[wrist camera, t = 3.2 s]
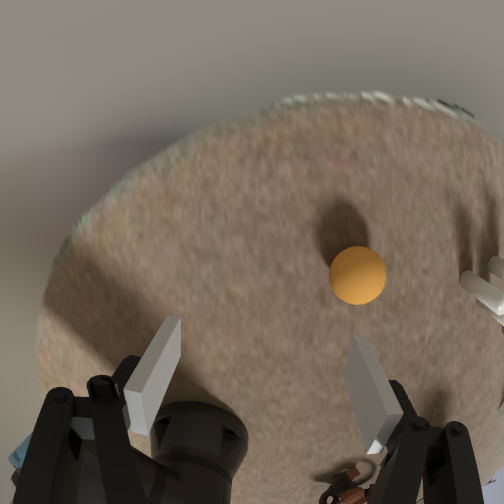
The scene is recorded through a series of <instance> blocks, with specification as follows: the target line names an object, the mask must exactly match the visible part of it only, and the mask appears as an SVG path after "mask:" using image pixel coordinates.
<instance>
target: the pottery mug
mask: <svg viewBox="0 0 504 504" xmlns="http://www.w3.org/2000/svg"><path fill="white" fill-rule="evenodd" d="M359 475H360V473H359V471H358V470H357V469H356V467H352V468H350V469H348V470H346V471H344V472H342V473H340V474H338V475H336V476H334V477H333V478H331V485H332V486H329V488H328V490H327V491H325V492H324V493H323V494H322V495H321V497H320V499H319V504H327V498H328V497H329V496H332V497H333V501H332V503H331V504H365V503H366V502H368V500H369V498H370V495H371V493H372V490H373V488H374V485H375V484H370V486H369V487H370V488H368V489H363V488H361V487H356V486H355V485H354V484H353V483H352V480H353V479H354V478H356V477H357V476H359ZM339 498H340V499H342V500H340V501H339Z"/></svg>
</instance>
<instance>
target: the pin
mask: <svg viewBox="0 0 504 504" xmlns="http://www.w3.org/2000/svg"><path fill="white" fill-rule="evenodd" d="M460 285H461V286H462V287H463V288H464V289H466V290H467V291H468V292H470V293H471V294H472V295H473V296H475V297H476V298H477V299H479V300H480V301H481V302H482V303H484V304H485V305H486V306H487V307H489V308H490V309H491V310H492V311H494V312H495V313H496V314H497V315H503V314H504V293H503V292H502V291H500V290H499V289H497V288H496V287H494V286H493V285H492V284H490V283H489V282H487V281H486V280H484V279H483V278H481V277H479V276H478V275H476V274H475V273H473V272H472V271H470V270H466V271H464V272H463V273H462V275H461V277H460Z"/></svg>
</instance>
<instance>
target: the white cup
mask: <svg viewBox="0 0 504 504" xmlns="http://www.w3.org/2000/svg"><path fill="white" fill-rule="evenodd" d="M498 413H499V416H500V418H501V419H502V421H503V423H504V401H503V403H502V404H501V406H500V408H499V411H498Z"/></svg>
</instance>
